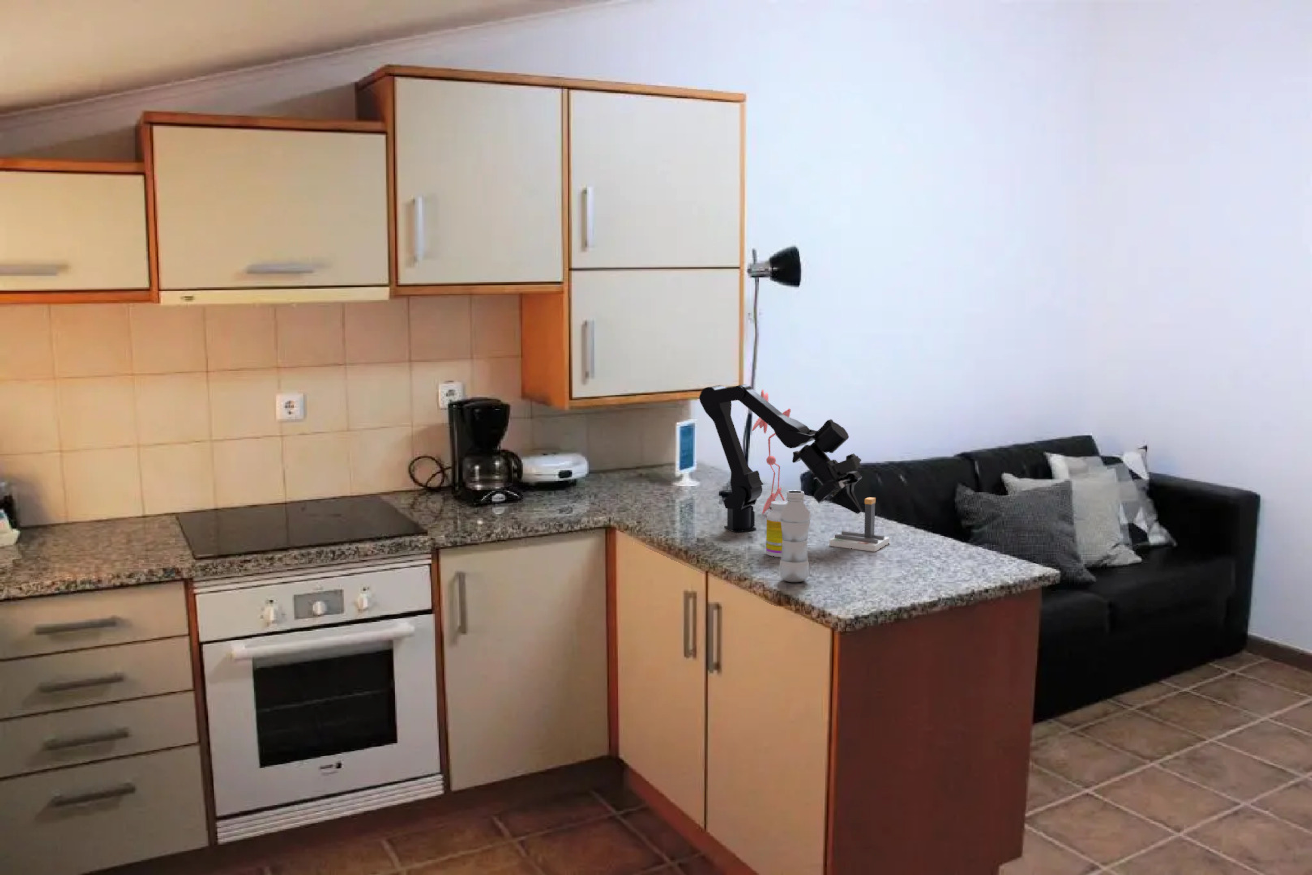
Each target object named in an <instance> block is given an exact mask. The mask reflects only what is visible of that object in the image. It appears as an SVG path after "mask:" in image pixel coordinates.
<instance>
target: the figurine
mask: <svg viewBox="0 0 1312 875" xmlns="http://www.w3.org/2000/svg"><path fill="white" fill-rule="evenodd" d="M760 396H761V397H763V398H764V399H765V400H766V401H768V402H769V393H768V392H765V390H764V389H763V388H762V389H761V392H760ZM781 413H782V414H784V415H785V416H787V417H790V416H791V408H788V409H787V410H784V411H783V412H781ZM758 426H759V427H758ZM768 426H769V425H768V424H767V423H766V422H764V421H763V420H762V419H761V418H760V417H758V419H757V420H756V421H755V423H754V425H753V427H752V430H751V431H752V432H753V431H755V430H756V429H757V428H759V429H762V428H763V434H766V433H767V432H768V431H767V430H768ZM774 436H776V434H775V432H774V433H772V434H771V435H769V437H768V439H767V441H768V442H767V444H768V445H767V446H768V456H767V457H766V463H767V465H769V466H770V469H771V470H772V472H773V477H772V485H771V493H770V496H769V497H768V498H767V499H766V501H765V503H764V506H763V510H762V515H764V514H765V513H766V512H767V511H768V510H769V509H770V508H771V502H772V501H776V498H777V497H778V496H780V498H781V501H786V500H785V498H784V496H783V493H782V492H781V490H782V487H780V474H781V473H780V472H781V470H780V469H781V466H780V465H779V464H777V463H776V462H777V461H776V457H775V456H773V455H771V439H772V438H773V437H774ZM773 465H776V466H777V467H778V471H777V472H778V473H777V474H778V476H777V489H776V491H775V492H774V483H775V477H776V472H775V470H774V468H773Z"/></svg>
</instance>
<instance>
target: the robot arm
mask: <svg viewBox="0 0 1312 875" xmlns="http://www.w3.org/2000/svg"><path fill="white" fill-rule="evenodd" d="M698 396H699V398H698V399H699V402H700V405H701V406H702V409H703V411H704V412H705V413H706V415H707V416H708V417H709V418H710V419H711V420H712V422H713V424H714V427H715V430H716V432H717V435H718V438H719V441H720V444H721V448H722V450H723V453H724V455H725V458H726V459H725V460H726V462H727V464H728V467H729V470H730V483H729V484H730V485H729V486H730V490H731V493H729V495H727V496H726V498H724V499H723V505H724V507H725V509H726V511H727V512H726V518H727V519H726V523H727V524H726V525H724V527H723V528H724V529H726V530H729V531H731V530H732V531H731V532H734V533H742V532H751V531H752V532H753V531H756V530H757V527H755V526H756V525H755V524H756V522H755V518H756V517H755V516H756V512H755V511H754V506H755V505H756V503H757V501H758V499H759V498H760V497H761V496H762V493H763V485H764V483H763V481H762V479H761V476H760V472H759V470H754V471H753V470H752V469H751V468H750V467H749V465H748V463H747V459H746V457H745V456H746V455H745V453H744V450H743V448H742V445H741V442H740V438H739V436H738V433H737V430H736V427H735V424H734V421H733V419H732V414H731V413H732V406H733V404H732V402H734V401H735V402H736V401H739V402H740V403H741V404H743V405H744V406H745V407H746V408H747V409H748V410H750V411H751V412H752V413H753V414H755V415H756V416H757V417H758V418H759V417H760V418H761V419H762V420H763V421H764V422H766V423H767V424H768V425H767V426H769V427H770V428H771V429H773V432H774V433H775V434H776V435H775V436H776V437H777V438H778V440H779V441H780V442H781V443H782V444H783V445H784V446H785V447H787V448H789V449H796V448H799V447H802V446H803V447H802V448H801V449H800V450H795V451H793V452H792V463H793V464H794V463H797V462H800V461H801V462H802V463H803V464H804V465H805V467H807V469H808V470H809V471H810V472H811V473H812V475H811V478H812V479H813V480H815V479H817V481H818V482H819V483H820V484H821V485H820V487H819V488H817V489H816V490H815V491H814V492H813V499H814V500H815V501H816V502H817V503H818V504H820V503H823V502H824V501H825V498H827V497H828V496H829V495H830V494H831V495H830V496H832V497H831V498H830V499H829V501H828V502H830V503H831V502H832V503H833V504H837V505H839V506H840V507H842V508H845V509H847V510H849V511H851V512H853V513H855V514H857V515H860V513H862V511H863V510H862V508H861V506H860V503H859V502H858V499H857V497H856V494H855V485H856V484H857V483H858V482H859V481H860V480H861V479H862V478H863V476H862V475H861V473H860V472H859V471H856V470H859V469H861V468H862V465H861V462H862V458H860V457H859V456H858V455H856V454H855V453H851V454H848V455H846V457H845V460H842V461H840V462H838V461H837V460H836V459H831V458H830V457H829V456H828V455H827V453H830V454H833V453H835V451H836V450H838V449H839V448H840V447H841V446H842V445H843V444H844V443H845V442H846V441H847V440H848V439H849V438H850V436H849V433H848V432H847V430H846V429H845V428H844V427H842V426H841V425H840V424H839V423H837V422H835V421H834V420H833V419H831V418H830V419H827V420H826V421H825V422H824V424H823V425H822V426H821V427H820V428H819V429H818V430H814V429H811V428H809V427H808V426H807V425H806V424H805V423H802V422H801V421H799V420H797V419H794V418H792V417H790V416H789V417H787V416H785V415H784V414H782V413H783V412H782V411H780V410H779V409H777V408H776V407H775V406H774V405H773V404H771V403H770V402H769V400H768V401H766V400H765V399H764V398H763V397H761V394H759V393H758V392H756V390H754V389H753V388H752V386H750V385H749V384H740V385H739V384H738V385H736V386H731V387H725V386H724V385H721V384H720V385H713V386H707V387H704V388H703V389H702V390H701V392H700V394H699V395H698ZM809 442H812V443H811V444H808V443H809Z"/></svg>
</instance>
